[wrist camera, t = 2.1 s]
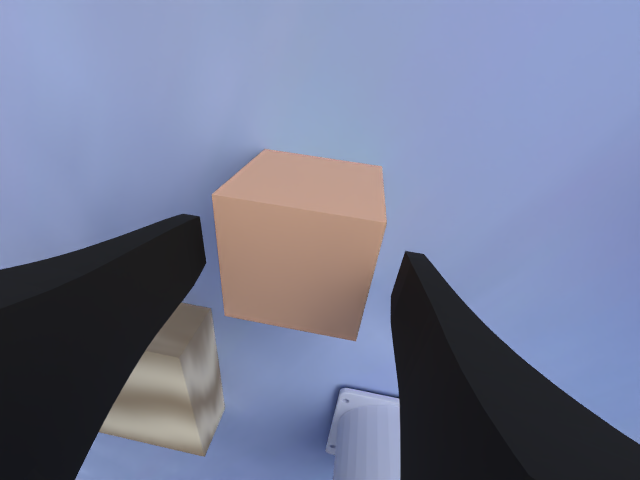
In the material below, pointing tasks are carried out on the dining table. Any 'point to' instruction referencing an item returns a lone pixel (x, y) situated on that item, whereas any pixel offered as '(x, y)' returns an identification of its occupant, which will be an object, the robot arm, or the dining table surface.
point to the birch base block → (173, 387)
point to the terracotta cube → (300, 241)
